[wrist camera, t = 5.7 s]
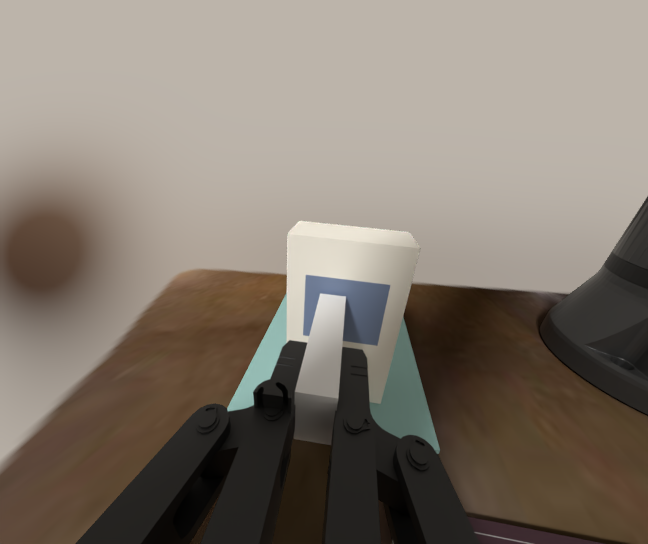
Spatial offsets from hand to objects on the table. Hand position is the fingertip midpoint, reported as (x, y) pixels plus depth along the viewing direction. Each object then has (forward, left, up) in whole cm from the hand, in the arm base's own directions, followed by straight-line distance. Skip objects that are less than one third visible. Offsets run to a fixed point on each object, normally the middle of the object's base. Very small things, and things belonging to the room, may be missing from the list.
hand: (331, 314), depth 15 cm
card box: (0, -2, -7) cm, 8 cm away
